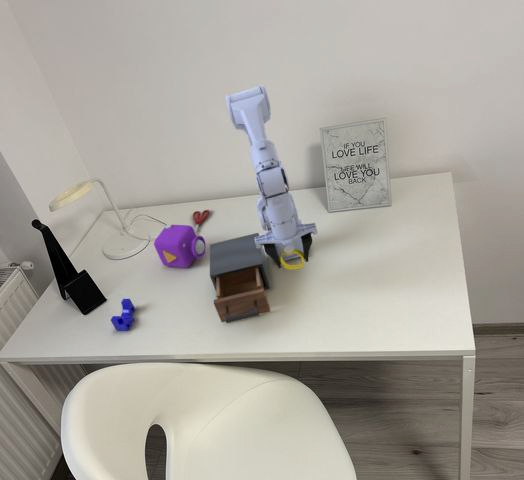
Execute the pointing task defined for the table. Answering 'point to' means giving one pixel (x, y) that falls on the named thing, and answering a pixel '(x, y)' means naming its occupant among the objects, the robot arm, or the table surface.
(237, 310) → the drawer
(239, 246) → the cabinet
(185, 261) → the toy camera
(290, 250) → the watch
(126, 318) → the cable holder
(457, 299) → the table surface
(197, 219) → the scissors
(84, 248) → the table surface
